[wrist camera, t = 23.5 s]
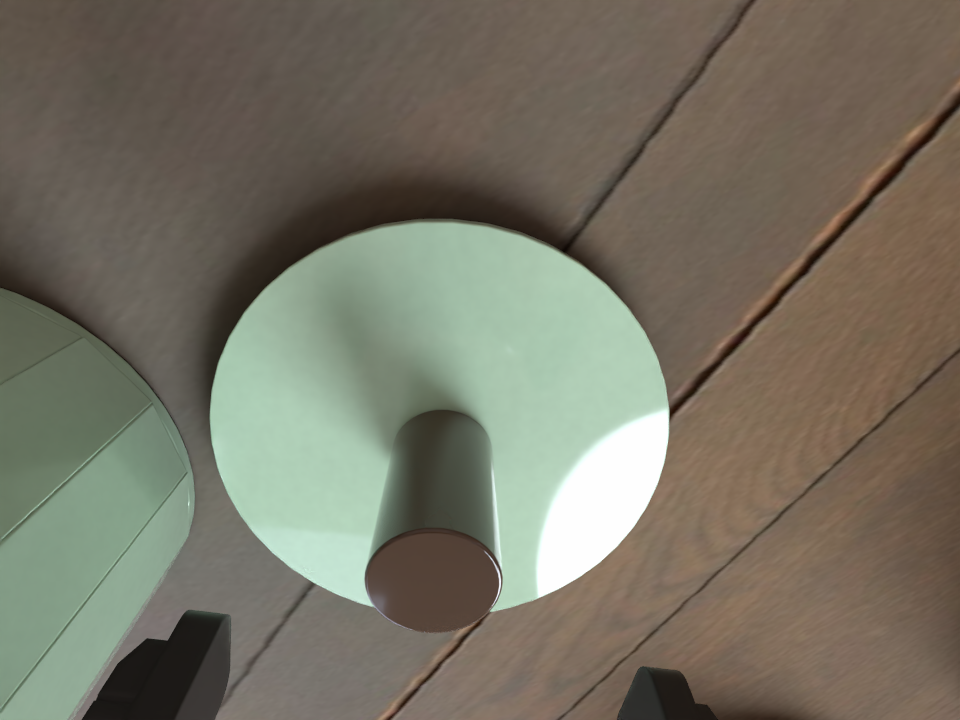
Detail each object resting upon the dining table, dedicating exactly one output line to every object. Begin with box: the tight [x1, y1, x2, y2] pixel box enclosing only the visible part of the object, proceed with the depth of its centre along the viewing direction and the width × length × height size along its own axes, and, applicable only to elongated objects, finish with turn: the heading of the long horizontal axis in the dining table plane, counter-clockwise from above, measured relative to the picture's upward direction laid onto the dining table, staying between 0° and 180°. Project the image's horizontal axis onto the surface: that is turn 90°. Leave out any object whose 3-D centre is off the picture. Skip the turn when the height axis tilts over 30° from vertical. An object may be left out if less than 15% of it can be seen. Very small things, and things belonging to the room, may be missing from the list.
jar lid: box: [209, 219, 669, 633], centre depth 16 cm, size 15×15×7 cm
